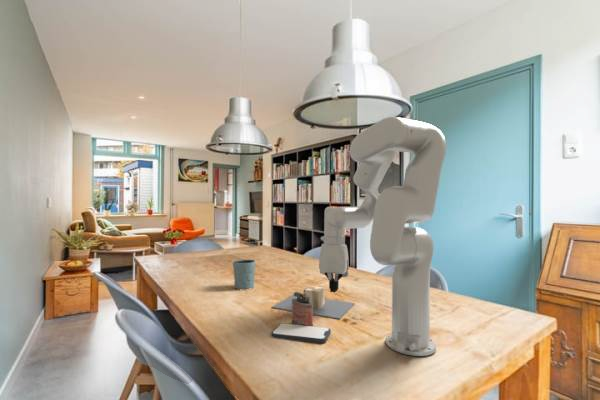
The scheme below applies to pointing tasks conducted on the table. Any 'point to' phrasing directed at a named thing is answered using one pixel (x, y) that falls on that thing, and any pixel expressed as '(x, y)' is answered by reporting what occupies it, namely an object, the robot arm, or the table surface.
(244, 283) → the teal cup
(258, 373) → the table surface
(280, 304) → the rubber mat
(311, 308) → the lighter
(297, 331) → the phone case
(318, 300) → the maple cube
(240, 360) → the table surface
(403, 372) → the table surface
